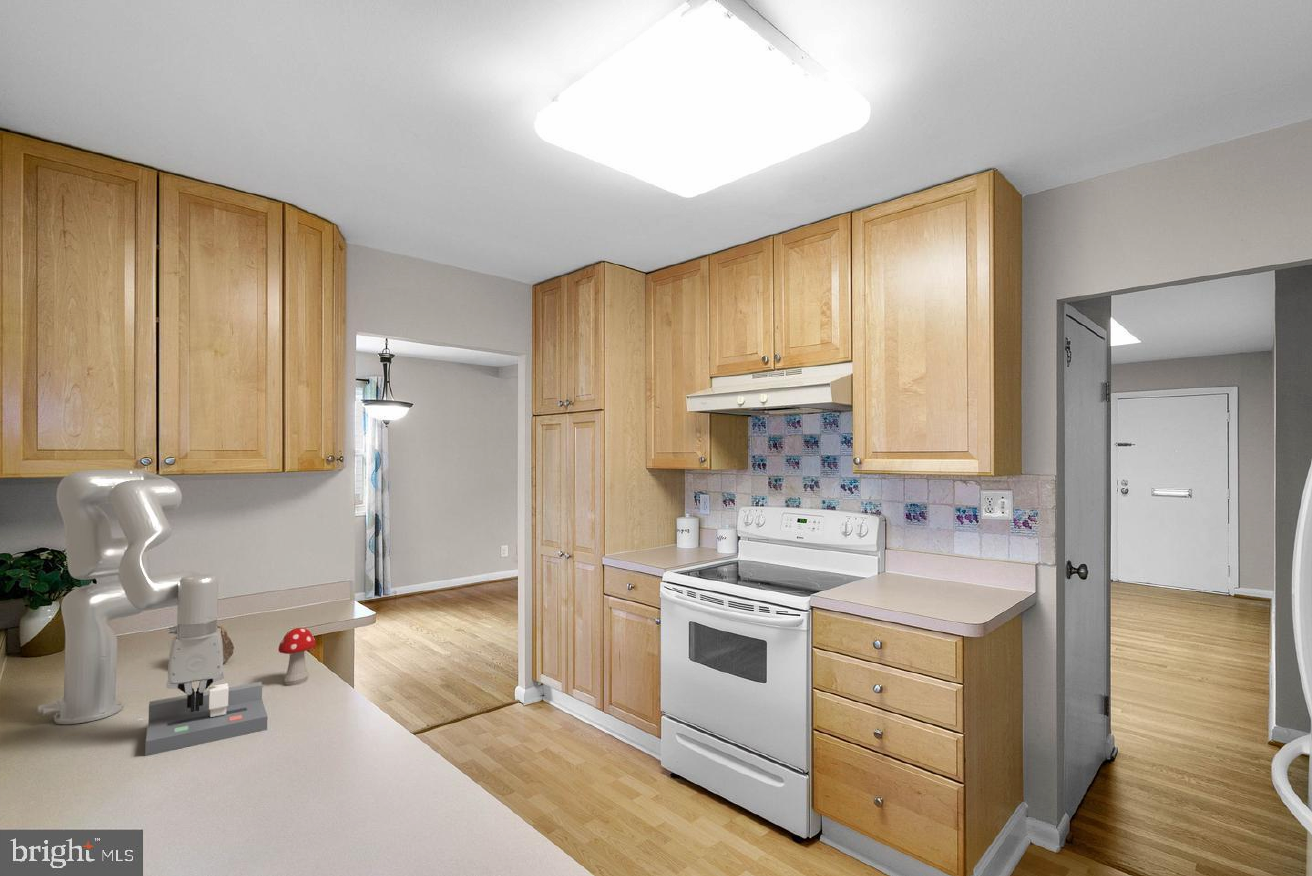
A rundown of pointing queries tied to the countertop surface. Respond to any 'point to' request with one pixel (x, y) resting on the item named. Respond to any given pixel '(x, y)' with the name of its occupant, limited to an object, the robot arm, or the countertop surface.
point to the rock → (226, 644)
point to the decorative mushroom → (296, 654)
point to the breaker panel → (204, 720)
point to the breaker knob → (218, 699)
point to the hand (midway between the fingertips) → (194, 709)
